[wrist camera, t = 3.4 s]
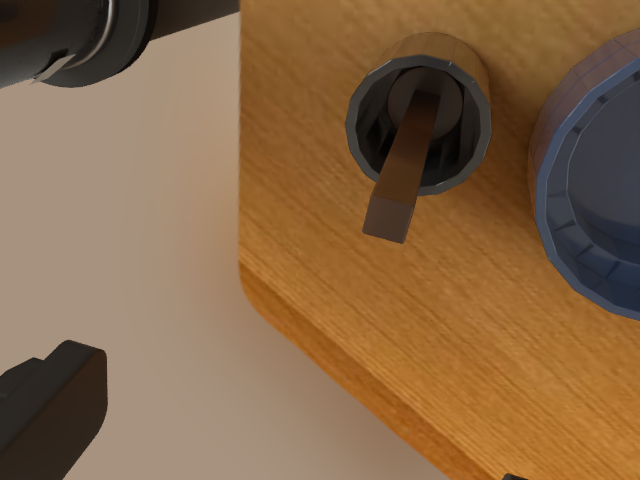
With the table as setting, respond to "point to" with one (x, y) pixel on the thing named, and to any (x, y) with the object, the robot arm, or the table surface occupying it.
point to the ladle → (411, 145)
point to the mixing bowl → (592, 176)
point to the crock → (443, 154)
